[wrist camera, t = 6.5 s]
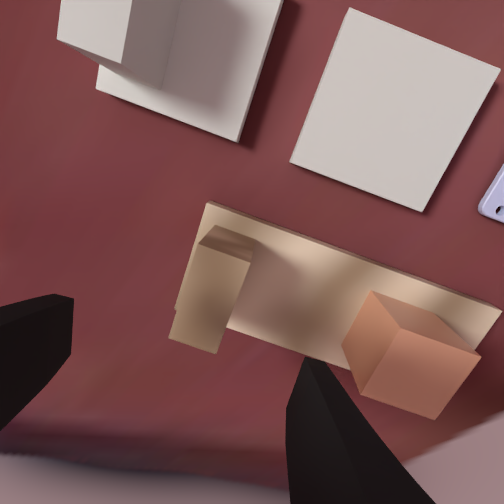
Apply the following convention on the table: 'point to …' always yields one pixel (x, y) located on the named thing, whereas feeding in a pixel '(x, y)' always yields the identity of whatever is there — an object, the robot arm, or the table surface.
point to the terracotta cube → (406, 356)
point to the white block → (326, 97)
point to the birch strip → (297, 289)
